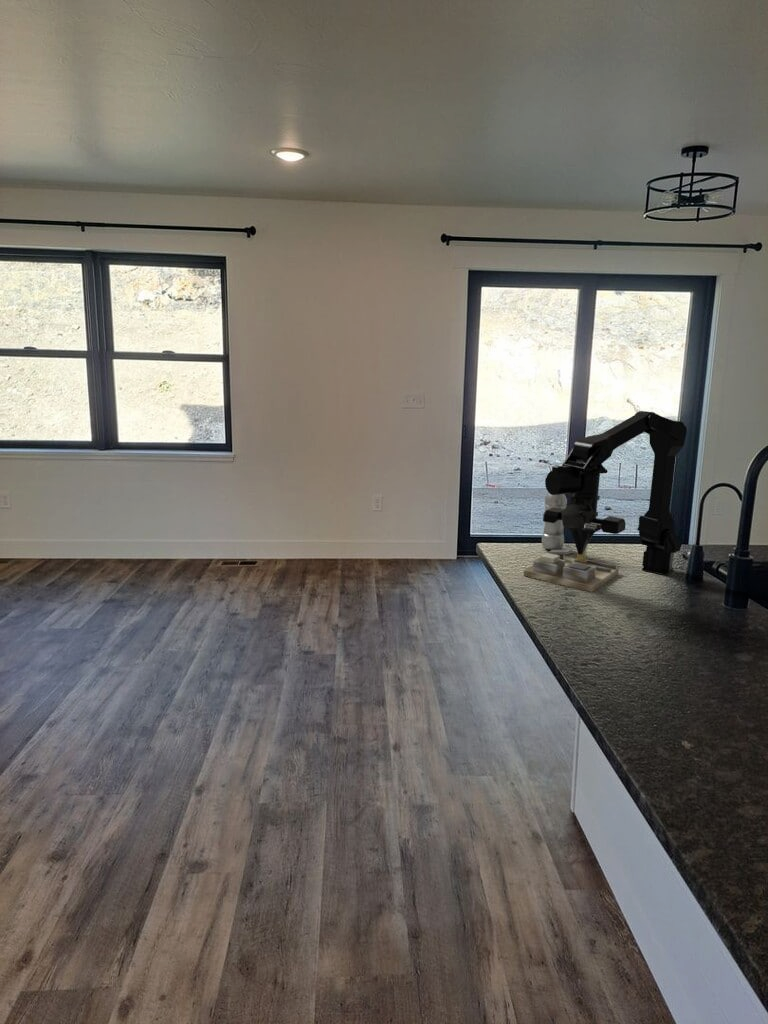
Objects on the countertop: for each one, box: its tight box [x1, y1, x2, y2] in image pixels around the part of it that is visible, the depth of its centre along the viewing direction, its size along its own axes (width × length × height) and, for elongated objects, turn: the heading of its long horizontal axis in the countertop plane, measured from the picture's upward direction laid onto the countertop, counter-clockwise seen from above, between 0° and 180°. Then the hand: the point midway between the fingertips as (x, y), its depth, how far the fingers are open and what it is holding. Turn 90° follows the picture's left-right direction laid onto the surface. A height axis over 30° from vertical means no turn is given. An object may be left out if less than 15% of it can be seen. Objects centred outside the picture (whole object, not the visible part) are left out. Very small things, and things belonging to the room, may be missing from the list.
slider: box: [574, 547, 589, 564], centre depth 170 cm, size 3×2×4 cm
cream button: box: [539, 552, 560, 564], centre depth 164 cm, size 4×4×2 cm
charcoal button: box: [570, 563, 590, 571], centre depth 159 cm, size 4×4×2 cm
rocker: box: [547, 549, 573, 555], centre depth 174 cm, size 6×3×1 cm, turn 51°
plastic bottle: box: [541, 492, 568, 551], centre depth 187 cm, size 6×7×20 cm
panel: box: [523, 554, 620, 593], centre depth 166 cm, size 18×18×4 cm
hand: (580, 554), depth 158 cm, fingers closed
